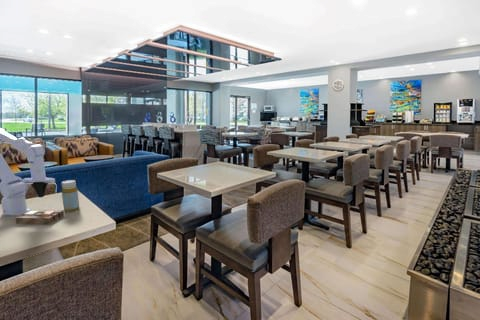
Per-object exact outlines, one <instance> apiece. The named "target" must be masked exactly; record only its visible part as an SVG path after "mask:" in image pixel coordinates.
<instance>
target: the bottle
mask: <svg viewBox="0 0 480 320" xmlns="http://www.w3.org/2000/svg"><path fill="white" fill-rule="evenodd" d="M61 188H62V189H61V195H62V196H61V198H62V205H63V210H64V211H65V212H74V211H77V210H79V208H80V200H79V191H78V188H77V183H76V180H75V179H68V180H63V181H62V182H61Z"/></svg>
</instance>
